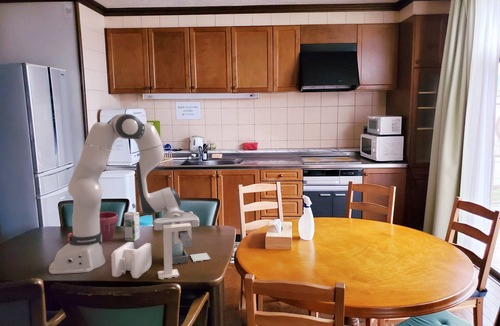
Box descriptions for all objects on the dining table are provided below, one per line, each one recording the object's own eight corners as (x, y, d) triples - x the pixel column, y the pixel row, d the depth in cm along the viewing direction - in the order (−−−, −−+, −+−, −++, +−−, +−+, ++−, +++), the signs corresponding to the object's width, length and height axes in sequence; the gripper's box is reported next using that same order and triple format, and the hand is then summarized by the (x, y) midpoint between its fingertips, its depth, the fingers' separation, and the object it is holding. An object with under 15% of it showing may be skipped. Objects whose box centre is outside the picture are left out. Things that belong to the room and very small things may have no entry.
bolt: (183, 249, 142) (182, 239, 141) (174, 232, 162) (174, 223, 161) (193, 248, 143) (193, 238, 143) (183, 231, 163) (183, 223, 162)
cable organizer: (134, 282, 149) (133, 254, 147) (110, 279, 151) (109, 252, 149) (152, 267, 163) (151, 241, 162) (130, 265, 165) (129, 239, 164)
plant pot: (109, 243, 191) (108, 219, 190) (84, 242, 194) (83, 218, 192) (123, 234, 205) (122, 212, 204) (99, 233, 208) (98, 211, 206)
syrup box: (124, 240, 197) (123, 213, 195) (130, 236, 202) (129, 210, 200) (134, 241, 195) (133, 214, 193) (140, 237, 201) (139, 211, 199)
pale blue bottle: (172, 262, 168) (171, 233, 166) (170, 258, 173) (170, 230, 171) (183, 261, 170) (183, 232, 168) (181, 257, 174) (181, 229, 173)
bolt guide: (159, 279, 151) (158, 229, 148) (157, 273, 157) (156, 225, 154) (192, 275, 156) (191, 226, 153) (189, 269, 161) (189, 222, 158)
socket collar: (168, 265, 166) (168, 258, 165) (165, 257, 174) (165, 251, 174) (188, 262, 169) (188, 256, 168) (185, 255, 177) (185, 249, 177)
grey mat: (193, 262, 169) (193, 261, 169) (190, 256, 176) (190, 254, 176) (210, 260, 171) (210, 258, 171) (206, 254, 179) (206, 252, 179)
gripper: (151, 214, 171) (154, 223, 158) (195, 211, 178) (201, 218, 165) (151, 227, 172) (154, 237, 159) (195, 223, 179) (202, 232, 166)
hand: (179, 227), depth 162 cm, fingers closed, pressing on bolt
